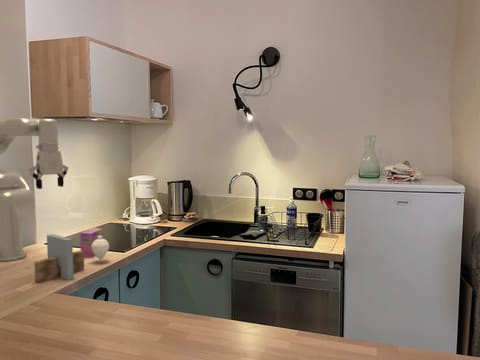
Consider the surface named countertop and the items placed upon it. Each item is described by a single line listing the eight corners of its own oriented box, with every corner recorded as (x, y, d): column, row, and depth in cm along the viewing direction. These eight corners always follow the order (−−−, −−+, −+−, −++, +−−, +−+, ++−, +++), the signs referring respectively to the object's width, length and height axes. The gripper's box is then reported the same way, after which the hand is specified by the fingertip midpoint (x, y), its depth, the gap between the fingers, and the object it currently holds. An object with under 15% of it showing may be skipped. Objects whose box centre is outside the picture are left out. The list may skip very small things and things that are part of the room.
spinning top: (91, 265, 186) (90, 238, 185) (92, 260, 193) (91, 234, 192) (109, 263, 188) (108, 237, 187) (109, 258, 195) (109, 233, 194)
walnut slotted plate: (38, 283, 163) (37, 262, 162) (35, 281, 165) (34, 261, 164) (84, 269, 179) (83, 251, 178) (80, 268, 181) (80, 250, 180)
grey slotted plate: (73, 278, 169) (72, 239, 167) (67, 279, 167) (66, 240, 165) (53, 271, 177) (52, 234, 175) (48, 273, 175) (46, 235, 173)
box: (91, 258, 197) (90, 233, 196) (80, 257, 198) (79, 232, 197) (103, 252, 207) (102, 228, 206) (92, 251, 208) (91, 227, 207)
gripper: (33, 148, 172) (35, 190, 174) (71, 147, 186) (73, 186, 188) (24, 148, 176) (25, 188, 178) (62, 147, 190) (63, 185, 192)
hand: (50, 187), depth 183 cm, fingers open, 9 cm apart
